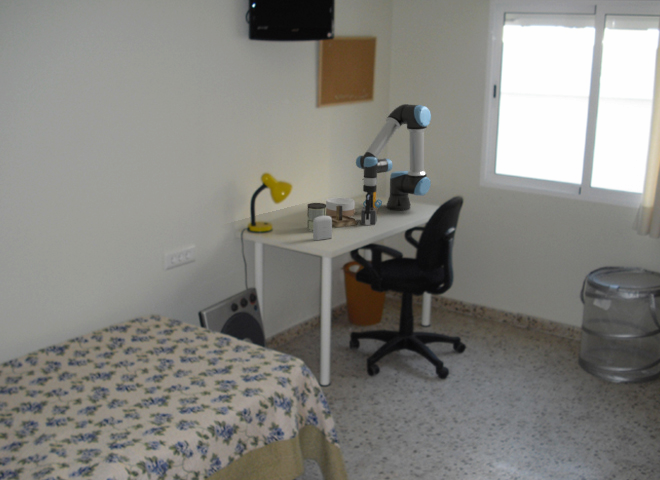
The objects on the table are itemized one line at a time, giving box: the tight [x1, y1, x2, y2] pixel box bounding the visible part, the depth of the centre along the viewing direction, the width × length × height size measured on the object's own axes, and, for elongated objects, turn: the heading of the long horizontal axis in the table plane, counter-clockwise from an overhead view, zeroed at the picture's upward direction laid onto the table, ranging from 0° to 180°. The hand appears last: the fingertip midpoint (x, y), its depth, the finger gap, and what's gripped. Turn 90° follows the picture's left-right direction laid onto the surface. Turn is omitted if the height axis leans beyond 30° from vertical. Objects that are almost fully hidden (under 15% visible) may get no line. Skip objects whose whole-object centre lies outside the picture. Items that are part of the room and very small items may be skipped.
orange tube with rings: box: [362, 191, 383, 209], centre depth 406 cm, size 12×10×15 cm
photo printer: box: [312, 215, 333, 241], centre depth 352 cm, size 10×4×12 cm, turn 118°
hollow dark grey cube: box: [360, 206, 378, 226], centre depth 386 cm, size 8×8×8 cm
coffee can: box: [306, 202, 327, 233], centre depth 369 cm, size 10×10×14 cm
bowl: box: [325, 196, 356, 217], centre depth 407 cm, size 17×17×8 cm
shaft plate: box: [330, 206, 358, 228], centre depth 384 cm, size 14×14×10 cm
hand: (368, 222), depth 387 cm, fingers open, 11 cm apart
